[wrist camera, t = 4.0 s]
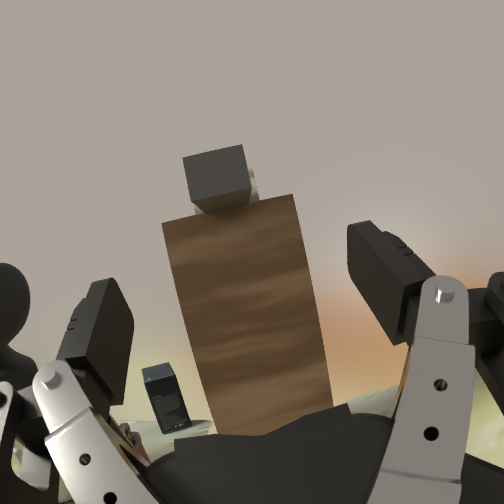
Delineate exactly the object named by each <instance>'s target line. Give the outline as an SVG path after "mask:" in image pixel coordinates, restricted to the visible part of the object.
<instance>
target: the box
mask: <svg viewBox="0 0 504 504" xmlns="http://www.w3.org/2000/svg"><path fill="white" fill-rule="evenodd" d="M141 371H142V374H143V379H144V384H145V388H146V391H147V393H148V396H149V399H150V402H151V405H152V407H153V411H154V413H155V416H156V419H157V421H158V424H159V426H160V429H161V432H162V434H165V433H169V432H173V431H177V430H180V429H184V428H187V427H191V425H192V424H191V421H190V418H189V415H188V412H187V409H186V406H185V403H184V400H183V397H182V394H181V391H180V388H179V385H178V381H177V378H176V375H175V373H174V371H173V370H172V368H171V366H170V364H169V362H168V363H164V364H160V365H156V366H152V367H148V368H144V369H142V370H141Z"/></svg>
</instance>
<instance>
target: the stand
mask: <svg viewBox="0 0 504 504" xmlns="http://www.w3.org/2000/svg"><path fill="white" fill-rule="evenodd" d="M248 172H249V177H250V181H251V185H252V190H251V195H250V199H249V203H246V204H241V205H237V206H232V207H228V208H223V209H219V210H215V211H210V212H206V213H204V212H203V211H202V210H201V209H199V208H198V207H197V206H196V205H195V204H194V203H193V204H194V209H195V214H196V215H193V216H189V217H185V218H181V219H176V220H173V221H168V222H165V223H162V228H163V233H164V237H165V243H166V247H167V252H168V256H169V261H170V265H171V270H172V274H173V278H174V282H175V287H176V291H177V295H178V298H179V303H180V307H181V311H182V315H183V318H184V322H185V326H186V330H187V333H188V337H189V341H190V345H191V348H192V352H193V355H194V359H195V362H196V366H197V369H198V372H199V376H200V379H201V382H202V386H203V389H204V392H205V395H206V399H207V402H208V405H209V408H210V411H211V414H212V417H213V420H214V423H215V426H216V429H217V432H218V434H225V435H247V436H261V435H265V434H267V433H270V432H272V431H274V430H276V429H278V428H280V427H282V426H284V425H286V424H288V423H290V422H292V421H294V420H296V419H298V418H300V417H302V416H304V415H307V414H311V413H315V412H318V411H322V410H325V409H329V408H332V407H334V406H333V400H332V393H331V387H330V381H329V374H328V368H327V362H326V356H325V351H324V345H323V339H322V334H321V328H320V323H319V317H318V312H317V307H316V302H315V297H314V292H313V286H312V281H311V276H310V271H309V267H308V262H307V257H306V252H305V248H304V243H303V239H302V234H301V229H300V225H299V220H298V216H297V211H296V207H295V203H294V199H293V194H289V195H284V196H279V197H275V198H270V199H265V200H259V196H258V191H257V187H256V182H255V178H254V174H253V169H252V167H250V168H248Z"/></svg>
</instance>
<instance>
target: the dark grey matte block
mask: <svg viewBox="0 0 504 504" xmlns="http://www.w3.org/2000/svg"><path fill="white" fill-rule="evenodd" d="M183 163H184V168H185V173H186V178H187V184H188V189H189V194H190V199H191V202H192V203H194V204H195V205H196V206H197V207H198V208H199V209H201V210H202V211H203V212H204V213H206V212H210V211H215V210H219V209H223V208H228V207H232V206H237V205H241V204H246V203H249V199H250V195H251V190H252V185H251V181H250V177H249V172H248V168H247V164H246V159H245V155H244V151H243V146H242V144H241V145H237V146H232V147H227V148H222V149H218V150H214V151H209V152H204V153H200V154H196V155H192V156H188V157H184V158H183Z"/></svg>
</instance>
